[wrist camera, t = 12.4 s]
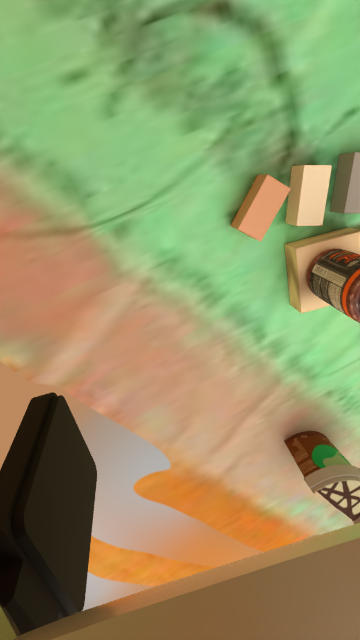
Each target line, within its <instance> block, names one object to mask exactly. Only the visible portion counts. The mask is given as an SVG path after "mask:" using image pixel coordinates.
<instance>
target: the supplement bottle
mask: <svg viewBox="0 0 360 640" xmlns="http://www.w3.org/2000/svg"><path fill="white" fill-rule="evenodd" d="M307 284H308V287H309V289H310V290H311V292H312V293H313V294H314V295H316V296H317V297H318V298H320V299H322V300H323V301H325V302H326V303H328V304H330V305H331V306H333V307H334V308H336V309H338V310H339V311H341V312H342V313H344V314H346V315H347V316H349V317H351V318H352V319H354V320H355V321H357V322H359V323H360V255H359V254H356V253H353V252H350V251H347V250H343V249H330V250H327V251H325V252H323V253H321V254H320V255H318V256H317V257H316V258H315V259H314V260H313V262H312V263H311V265H310V267H309V269H308V273H307Z"/></svg>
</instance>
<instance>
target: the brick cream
mask: <svg viewBox="0 0 360 640" xmlns="http://www.w3.org/2000/svg"><path fill="white" fill-rule="evenodd" d="M331 167H332V165H301V166H292V170H291V179H290V187H289V188H290V189H291V190H290V191H289V196H288V205H287V213H286V222H285V223H288V224H291V225H295V226H319V225H322V224H323V218H324V211H325V205H326V199H327V192H328V186H329V180H330V173H331Z"/></svg>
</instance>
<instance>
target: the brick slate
mask: <svg viewBox="0 0 360 640" xmlns="http://www.w3.org/2000/svg"><path fill="white" fill-rule="evenodd" d="M330 211H331V212H338V213H360V152H354V153H345V154H339V160H338V166H337V172H336V178H335V184H334V190H333V196H332V202H331V208H330Z"/></svg>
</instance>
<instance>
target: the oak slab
mask: <svg viewBox="0 0 360 640" xmlns="http://www.w3.org/2000/svg"><path fill="white" fill-rule="evenodd" d="M330 249H343V250H347V251H350V252H353V253H356V254H359V255H360V230H358V229H353V228H348V227H347V228H343V229H340V230H336V231H332V232H328V233H324V234H321V235H317V236H313V237H309V238H306V239H302V240H298V241H294V242H290V243H287V244H285V255H286V265H287V275H288V286H289V296H290V305H291V306H293V307H294V308H295V309H296V310H298V311H299V312H300V313H304V312H308V311H312V310H315V309H319V308H323V307H326V306H330V304H328V303H326V302H325V301H323V300H322V299H320V298H318V297H317V296H316V295H314V294H313V293H312V292H311V290H310V289H309V287H308V284H307V273H308V269H309V267H310V265H311V263H312V262H313V260H314V259H315V258H316V257H317V256H318V255H320V254H321V253H323V252H325V251H327V250H330Z"/></svg>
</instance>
